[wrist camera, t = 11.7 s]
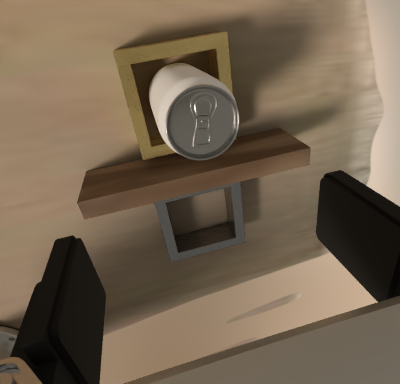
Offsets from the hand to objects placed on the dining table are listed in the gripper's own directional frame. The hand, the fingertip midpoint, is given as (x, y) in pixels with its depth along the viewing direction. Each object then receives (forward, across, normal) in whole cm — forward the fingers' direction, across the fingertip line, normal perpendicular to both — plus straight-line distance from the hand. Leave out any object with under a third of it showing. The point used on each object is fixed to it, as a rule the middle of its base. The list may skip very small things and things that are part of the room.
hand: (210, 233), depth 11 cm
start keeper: (+24, -3, +14) cm, 28 cm away
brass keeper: (+24, -2, -1) cm, 24 cm away
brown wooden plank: (+24, -3, +7) cm, 25 cm away
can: (+24, -3, -1) cm, 24 cm away
